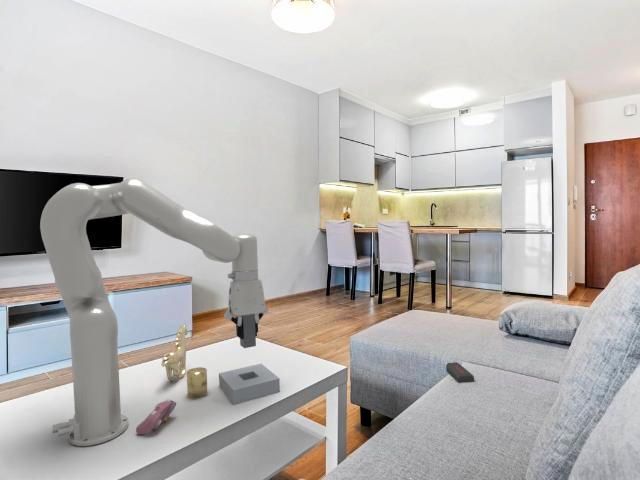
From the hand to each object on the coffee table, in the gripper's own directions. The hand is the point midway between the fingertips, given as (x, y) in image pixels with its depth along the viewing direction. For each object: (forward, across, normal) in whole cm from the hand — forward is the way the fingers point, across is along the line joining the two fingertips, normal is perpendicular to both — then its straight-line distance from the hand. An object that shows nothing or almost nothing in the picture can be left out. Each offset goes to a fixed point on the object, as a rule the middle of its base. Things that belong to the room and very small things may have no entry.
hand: (247, 336), depth 112 cm
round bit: (+16, -14, +5) cm, 22 cm away
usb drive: (+17, +60, -28) cm, 68 cm away
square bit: (+3, 0, 0) cm, 3 cm away
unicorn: (+16, -17, +20) cm, 31 cm away
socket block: (+16, 0, 0) cm, 16 cm away
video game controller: (+16, -27, -7) cm, 32 cm away
